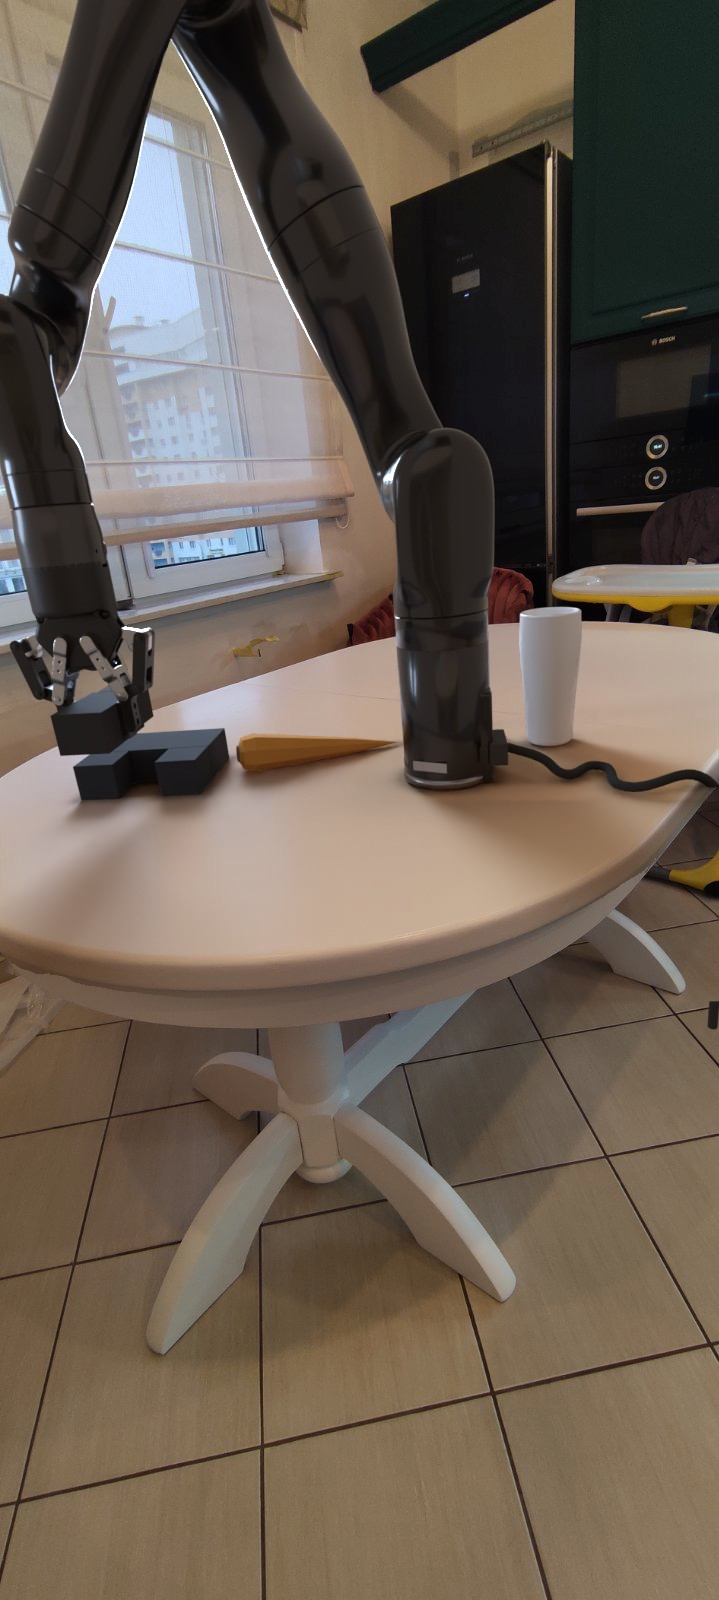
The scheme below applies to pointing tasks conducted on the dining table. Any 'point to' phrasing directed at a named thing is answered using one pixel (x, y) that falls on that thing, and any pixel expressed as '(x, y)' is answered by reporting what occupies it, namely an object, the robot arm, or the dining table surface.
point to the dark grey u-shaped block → (155, 764)
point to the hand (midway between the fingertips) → (104, 736)
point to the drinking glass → (550, 672)
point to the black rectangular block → (94, 723)
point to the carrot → (296, 749)
